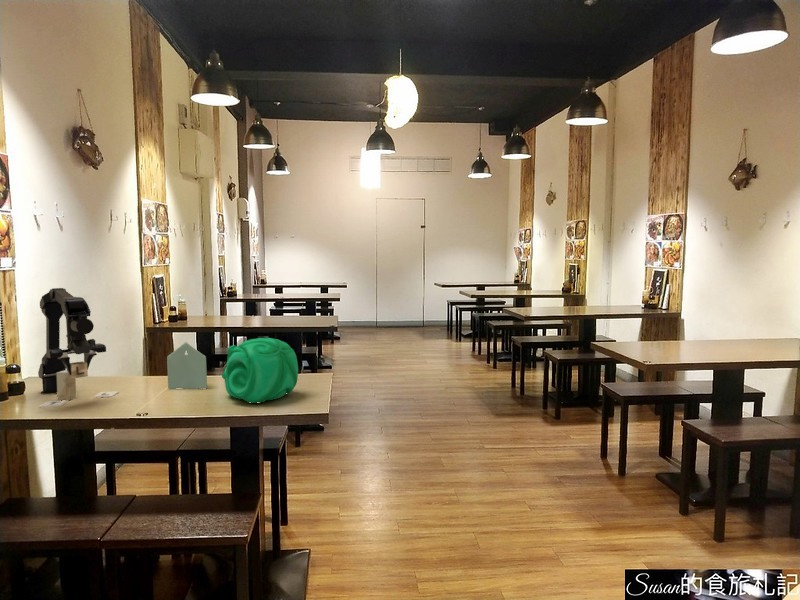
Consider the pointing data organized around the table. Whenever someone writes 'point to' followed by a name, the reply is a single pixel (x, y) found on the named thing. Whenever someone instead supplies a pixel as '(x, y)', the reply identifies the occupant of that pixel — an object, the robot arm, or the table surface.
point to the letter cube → (78, 369)
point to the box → (65, 386)
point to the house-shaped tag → (186, 368)
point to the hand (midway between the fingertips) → (78, 373)
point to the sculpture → (260, 370)
